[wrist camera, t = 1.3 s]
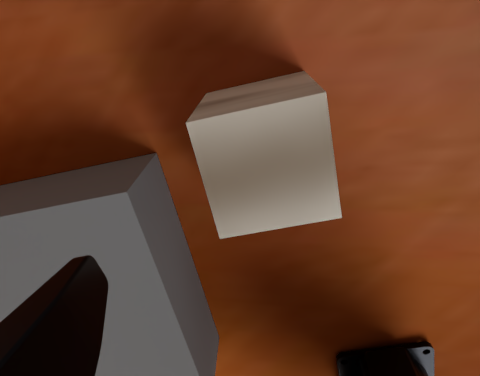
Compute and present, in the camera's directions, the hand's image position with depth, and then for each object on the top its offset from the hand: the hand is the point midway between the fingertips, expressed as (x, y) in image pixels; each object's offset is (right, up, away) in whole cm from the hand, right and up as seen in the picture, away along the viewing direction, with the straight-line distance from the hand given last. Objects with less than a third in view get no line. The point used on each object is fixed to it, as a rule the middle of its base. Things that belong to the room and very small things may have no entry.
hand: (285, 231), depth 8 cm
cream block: (0, +4, +11) cm, 12 cm away
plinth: (-11, -5, +15) cm, 19 cm away
